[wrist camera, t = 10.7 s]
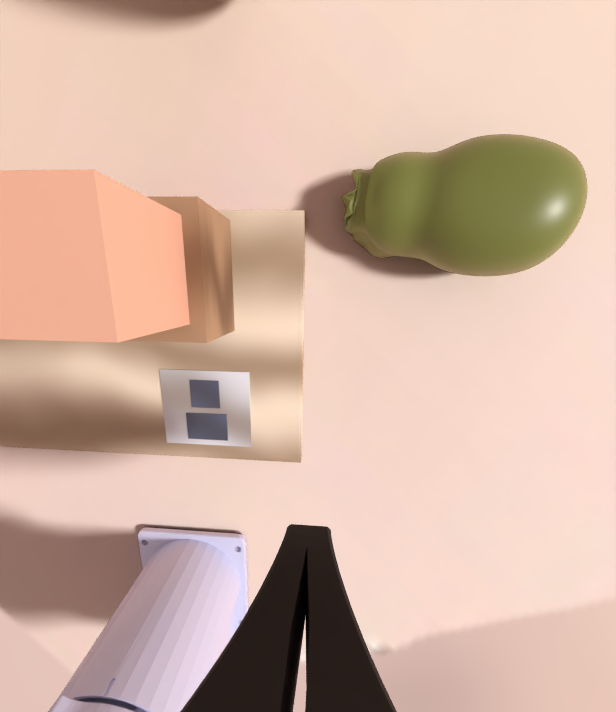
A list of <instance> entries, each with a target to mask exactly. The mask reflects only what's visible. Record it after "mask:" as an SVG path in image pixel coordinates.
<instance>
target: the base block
mask: <svg viewBox="0 0 616 712" xmlns="http://www.w3.org/2000/svg"><path fill="white" fill-rule="evenodd" d="M148 198H150V199H151V200H153V201H155V202H157V203H159V204H161V205H163V206H165V207H167V208H169V209H171V210H173V211H175V212H177V213H179V214H181V219H182V232H183V244H184V257H185V270H186V282H187V295H188V308H189V320H190V324H189V325H185V326H181V327H177V328H173V329H169V330H166V331H162V332H158V333H154V334H150V335H146V336H142V337H138V338H134V339H130V340H126V341H155V342H188V343H208V342H210V341H213V340H215V339H217V338H219V337H222V336H224V335H226V334H228V333H231V332H233V331H235V325H234V301H233V277H232V252H231V228H230V220H229V219H228V218H226V217H225V216H224V215H222V214H221V213H219V212H218V211H217V210H215V209H214V208H212V207H211V206H210V205H208V204H207V203H205V202H204V201H203V200H201V199H200V198H199V197H148Z"/></svg>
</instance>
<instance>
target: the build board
mask: <svg viewBox="0 0 616 712" xmlns="http://www.w3.org/2000/svg"><path fill="white" fill-rule="evenodd" d="M217 211H218V212H219V213H221V214H222V215H224V216H225V217H226V218H228V219H229V220H230V228H231V252H232V277H233V301H234V325H235V331H233V332H231V333H228V334H226V335H224V336H222V337H219V338H217V339H215V340H213V341H210V342H208V343H188V342H155V341H122V342H118V343H115V342H80V341H45V340H10V339H0V446H4V447H22V448H41V449H59V450H78V451H96V452H115V453H134V454H152V455H171V456H189V457H208V458H226V459H245V460H263V461H282V462H300V463H301V457H302V401H303V333H304V265H305V212H304V210H217Z"/></svg>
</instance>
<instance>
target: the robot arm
mask: <svg viewBox="0 0 616 712" xmlns="http://www.w3.org/2000/svg"><path fill="white" fill-rule="evenodd" d="M138 541H139V548H140V555H141V562H142V569H143V570H142V571H141V573H140V574H139V576H138V577H137V579H136V580H135V582H134V583H133V585H132V586H131V588H130V590H129V591H128V593H127V594H126V596H125V597H124V599H123V600H122V602H121V603H120V605H119V606H118V608H117V609H116V611H115V612H114V614H113V615H112V617H111V618H110V620H109V621H108V623H107V625H106V626H105V628H104V629H103V631H102V632H101V634H100V635H99V637H98V638H97V640H96V641H95V643H94V644H93V646H92V647H91V649H90V650H89V652H88V653H87V655H86V656H85V658H84V660H83V661H82V663H81V664H80V666H79V667H78V669H77V670H76V672H75V673H74V675H73V676H72V678H71V679H70V681H69V682H68V684H67V685H66V687H65V688H64V690H63V691H62V693H61V695H60V696H59V698H58V699H57V700H56V702H55V703H54V704H53V706H52V707H51V708H50V710H49V711H48V712H293V705H294V698H295V690H296V683H297V675H298V668H299V660H300V653H301V645H302V638H303V630H304V623H305V615H306V674H307V675H306V683H307V691H306V709H305V712H396V710H395V707H394V705H393V703H392V701H391V699H390V697H389V695H388V693H387V691H386V688H385V687H384V685H383V682H382V680H381V678H380V676H379V673H378V671H377V669H376V667H375V664H374V662H373V660H372V658H371V655H370V653H369V651H368V648H367V646H366V643H365V641H364V639H363V636H362V634H361V631H360V629H359V626H358V623H357V621H356V618H355V616H354V613H353V610H352V608H351V605H350V602H349V599H348V596H347V593H346V590H345V587H344V584H343V581H342V578H341V575H340V572H339V568H338V564H337V561H336V557H335V553H334V549H333V544H332V538H331V530H330V529H329V528H328V527H323V526H308V525H293V524H291V525H289V526H288V527H287V530H286V534H285V536H284V539H283V542H282V544H281V547H280V549H279V551H278V554H277V556H276V558H275V560H274V562H273V564H272V566H271V568H270V570H269V572H268V574H267V576H266V578H265V580H264V582H263V584H262V586H261V588H260V590H259V592H258V594H257V595H256V597H255V599H254V601H253V602H252V604H251V606H250V608H249V609H248V586H247V560H246V539H245V537H244V536H243V535H241V534H234V533H219V532H205V531H190V530H176V529H161V528H147V527H146V528H142V529H141V530H140V532H139V533H138ZM237 546H238V547H237ZM239 547H240V548H239Z"/></svg>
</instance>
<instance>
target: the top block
mask: <svg viewBox="0 0 616 712" xmlns="http://www.w3.org/2000/svg"><path fill="white" fill-rule="evenodd" d="M189 324H190V320H189V308H188V295H187V282H186V270H185V257H184V244H183V232H182V219H181V214H179V213H177V212H175V211H173V210H171V209H169V208H167V207H165V206H163V205H161V204H159V203H157V202H155V201H153V200H151V199H150V198H148V197H146V196H144V195H142V194H140V193H138V192H136V191H134V190H132V189H130V188H128V187H126V186H124V185H122V184H120V183H118V182H117V181H115V180H113V179H111V178H109V177H107V176H105V175H103V174H101V173H99V172H97V171H95V170H10V171H0V339H10V340H45V341H80V342H115V343H118V342H122V341H126V340H130V339H134V338H138V337H142V336H146V335H150V334H154V333H158V332H162V331H166V330H169V329H173V328H177V327H181V326H185V325H189Z"/></svg>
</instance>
